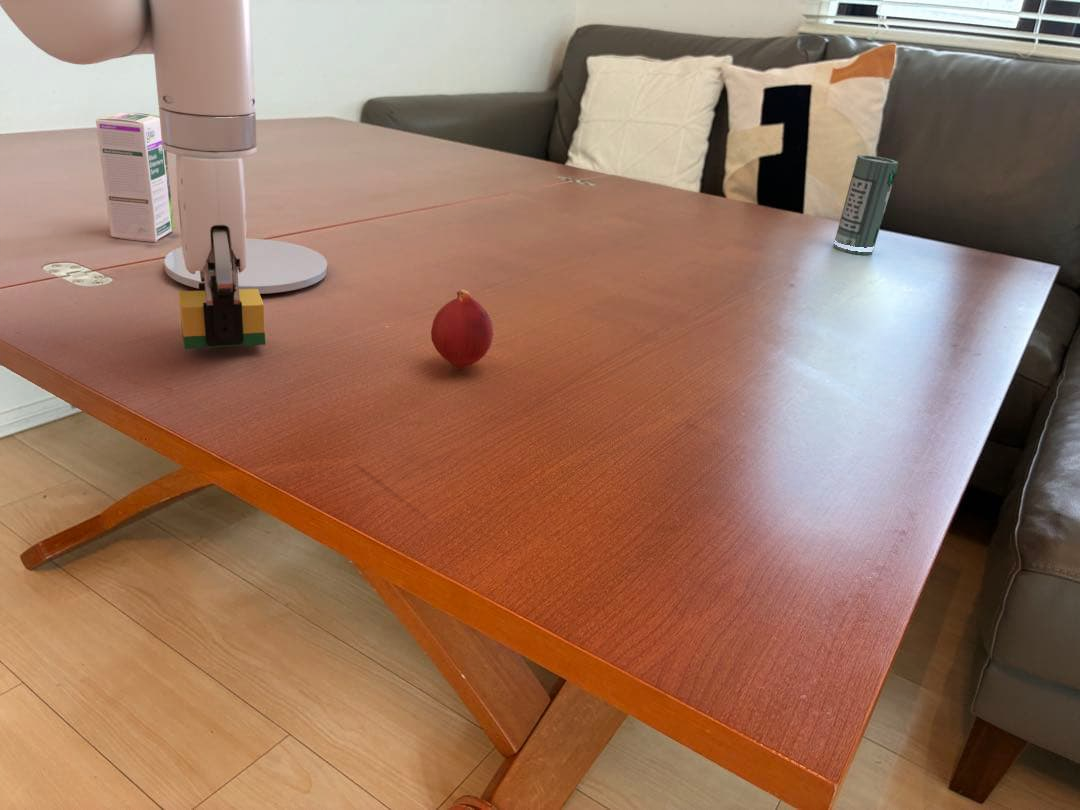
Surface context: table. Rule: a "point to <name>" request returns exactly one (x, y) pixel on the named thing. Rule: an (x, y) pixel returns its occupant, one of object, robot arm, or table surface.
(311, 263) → the plate
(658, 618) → the table surface
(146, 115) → the syrup box
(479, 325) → the onion
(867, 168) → the can
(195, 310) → the sponge
